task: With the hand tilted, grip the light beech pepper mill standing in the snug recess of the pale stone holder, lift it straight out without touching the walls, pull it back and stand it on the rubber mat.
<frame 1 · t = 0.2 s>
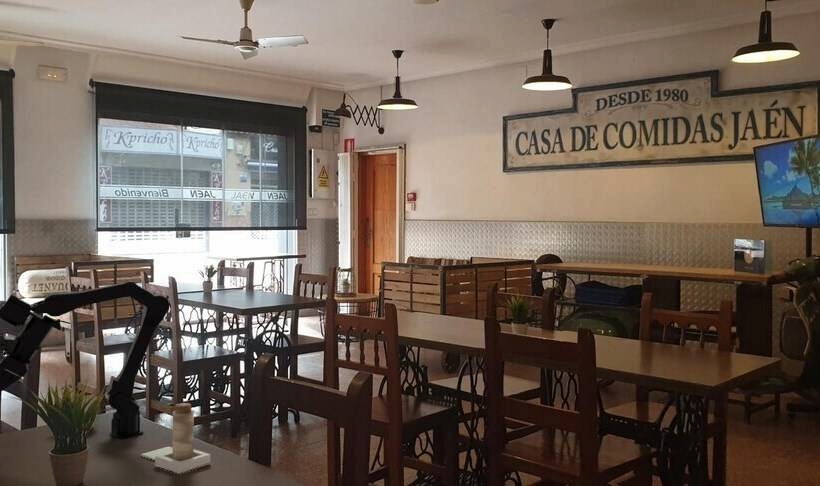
pocket holder: (182, 465, 174), on the table
rubber mat: (164, 455, 181), on the table
spiky green plant: (78, 429, 203), on the table
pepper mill: (183, 435, 174), in the pocket holder
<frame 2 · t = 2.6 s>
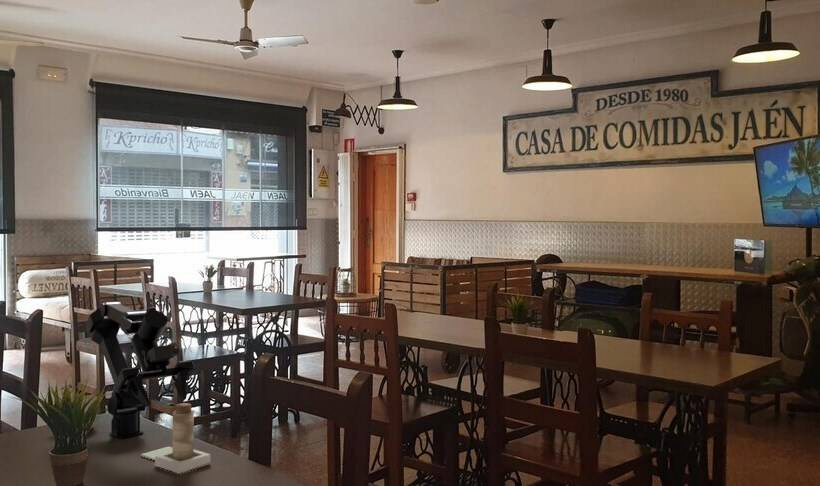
hand: (166, 402, 180), 14 cm above the table, tool tilted 45°, fingers open, 9 cm apart
nothing on the table moved.
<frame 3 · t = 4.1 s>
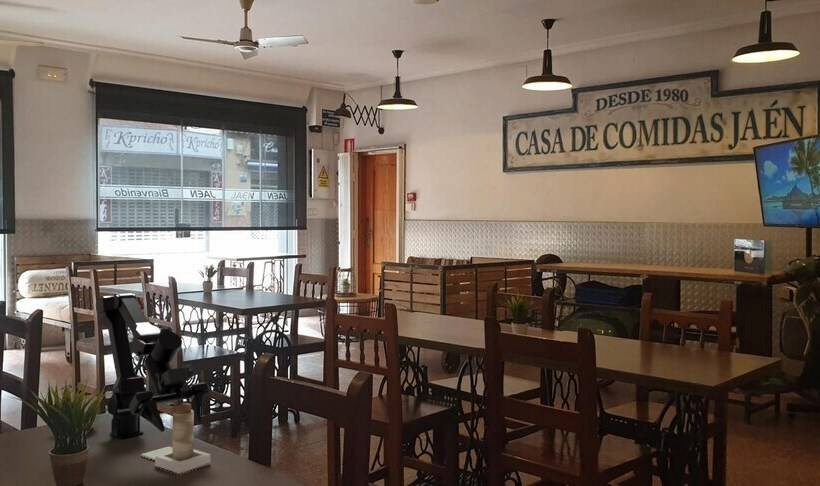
hand: (181, 427, 174), 9 cm above the table, tool tilted 45°, fingers open, 9 cm apart
nothing on the table moved.
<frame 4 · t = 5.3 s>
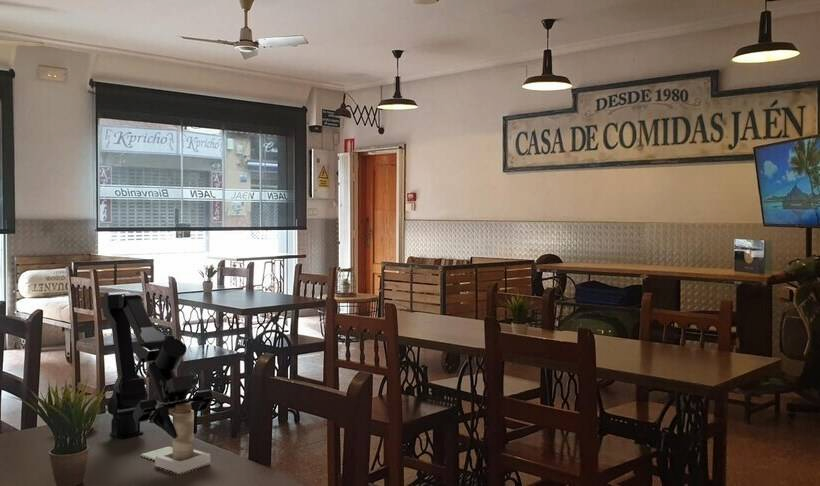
hand: (185, 435, 173), 8 cm above the table, tool tilted 45°, fingers closed on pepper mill, 5 cm apart
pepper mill: (183, 435, 174), in the pocket holder, touching gripper
everything else where it was.
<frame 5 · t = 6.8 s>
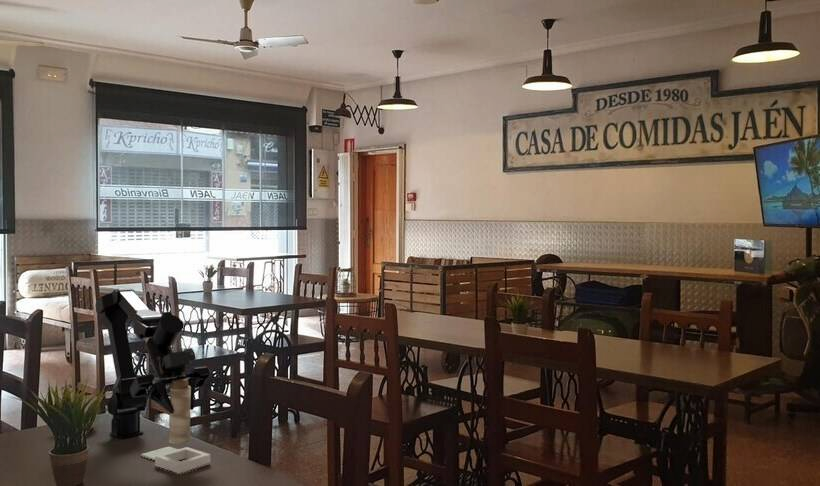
hand: (182, 410, 174), 13 cm above the table, tool tilted 45°, fingers closed on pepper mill, 5 cm apart
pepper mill: (179, 410, 175), point 13 cm above the table, touching gripper
everything else where it was.
when the fingers open (9 cm above the table, at t = 8.6 s): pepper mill stays where it is, resting on rubber mat.
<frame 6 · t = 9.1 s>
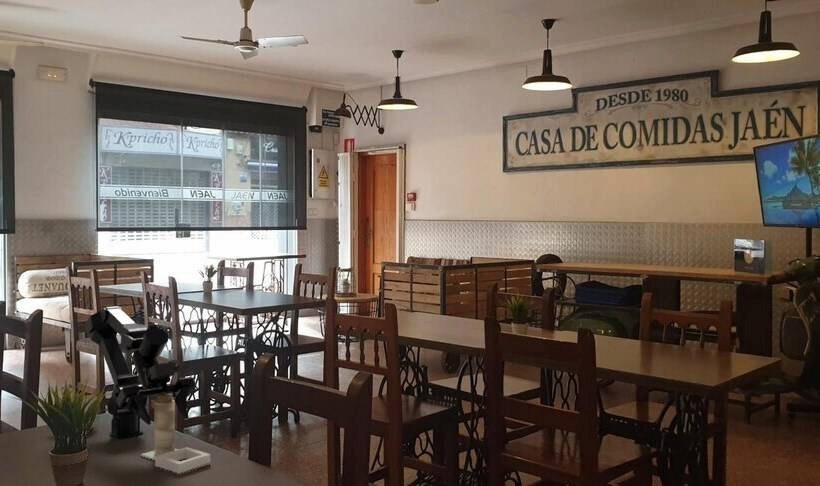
hand: (167, 420, 180), 9 cm above the table, tool tilted 45°, fingers open, 9 cm apart
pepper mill: (164, 424, 181), on the rubber mat, point 8 cm above the table
everything else where it was.
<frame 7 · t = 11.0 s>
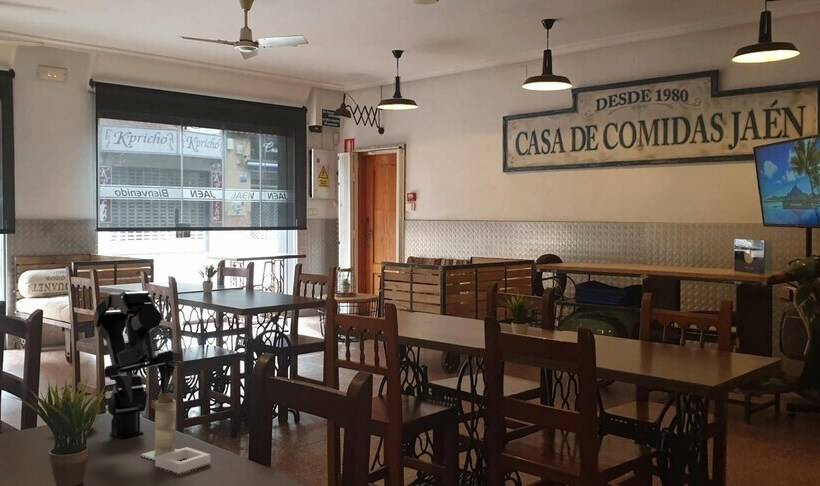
hand: (147, 398, 185), 13 cm above the table, tool tilted 20°, fingers open, 9 cm apart
nothing on the table moved.
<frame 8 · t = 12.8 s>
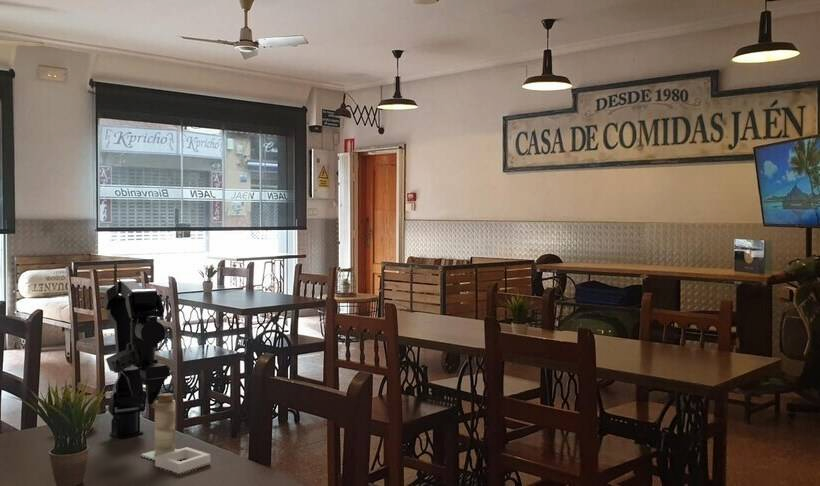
hand: (142, 400, 183), 13 cm above the table, tool pointing down, fingers open, 9 cm apart
nothing on the table moved.
at the end: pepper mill inside the target area on the rubber mat (0.1 cm from its centre), point 7.9 cm above the rubber mat's base; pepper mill tilted 0°; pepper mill touching rubber mat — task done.
